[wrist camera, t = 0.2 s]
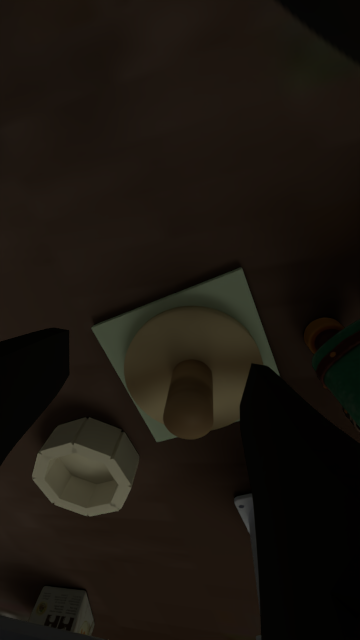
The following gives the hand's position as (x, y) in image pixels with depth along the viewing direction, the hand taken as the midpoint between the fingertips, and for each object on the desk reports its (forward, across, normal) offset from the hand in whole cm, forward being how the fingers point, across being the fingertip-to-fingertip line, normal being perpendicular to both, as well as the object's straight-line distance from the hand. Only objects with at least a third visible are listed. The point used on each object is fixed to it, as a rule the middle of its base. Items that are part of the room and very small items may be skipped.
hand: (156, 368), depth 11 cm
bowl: (+10, +6, +17) cm, 21 cm away
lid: (+10, -2, +5) cm, 11 cm away
